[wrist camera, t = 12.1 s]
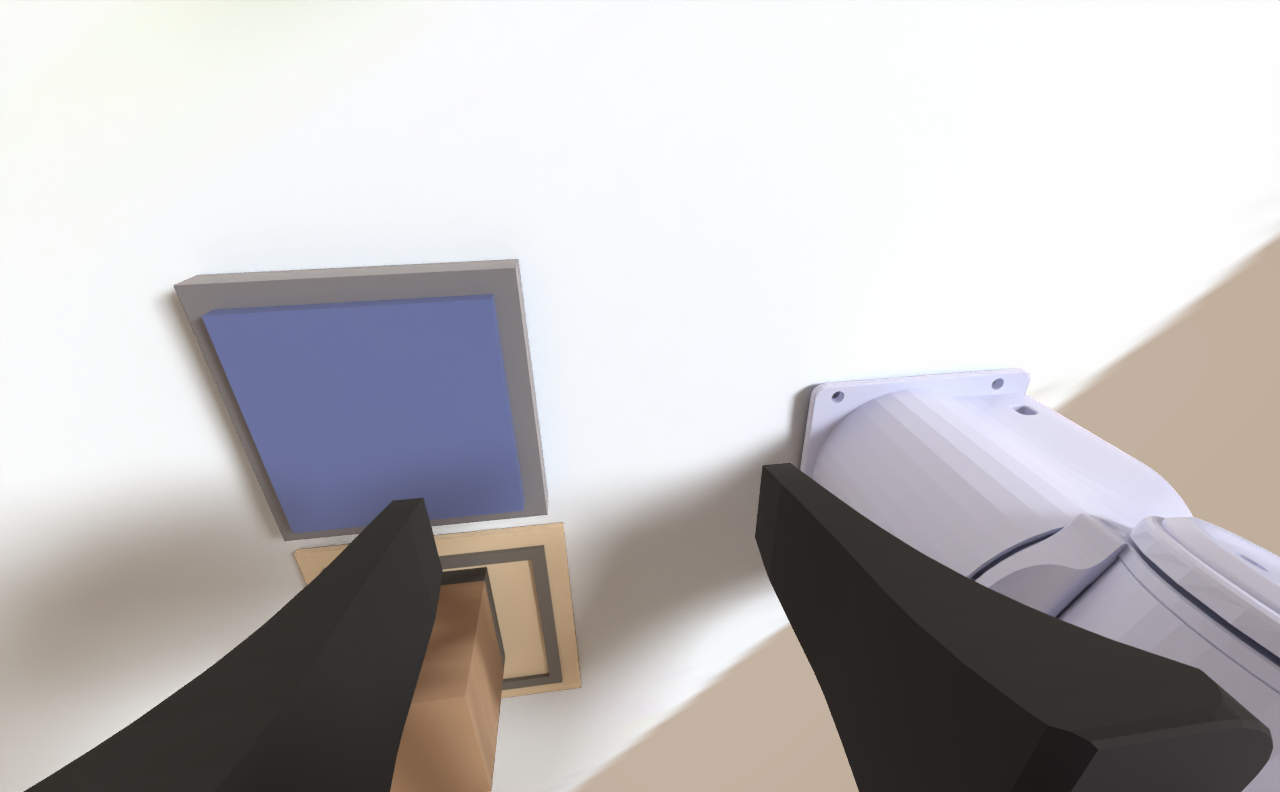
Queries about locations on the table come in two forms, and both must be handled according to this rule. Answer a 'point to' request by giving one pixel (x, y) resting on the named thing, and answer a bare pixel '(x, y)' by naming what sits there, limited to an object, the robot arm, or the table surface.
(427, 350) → the ink pad
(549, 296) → the table surface
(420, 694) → the brown rectangular block
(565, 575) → the marked card
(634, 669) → the table surface
